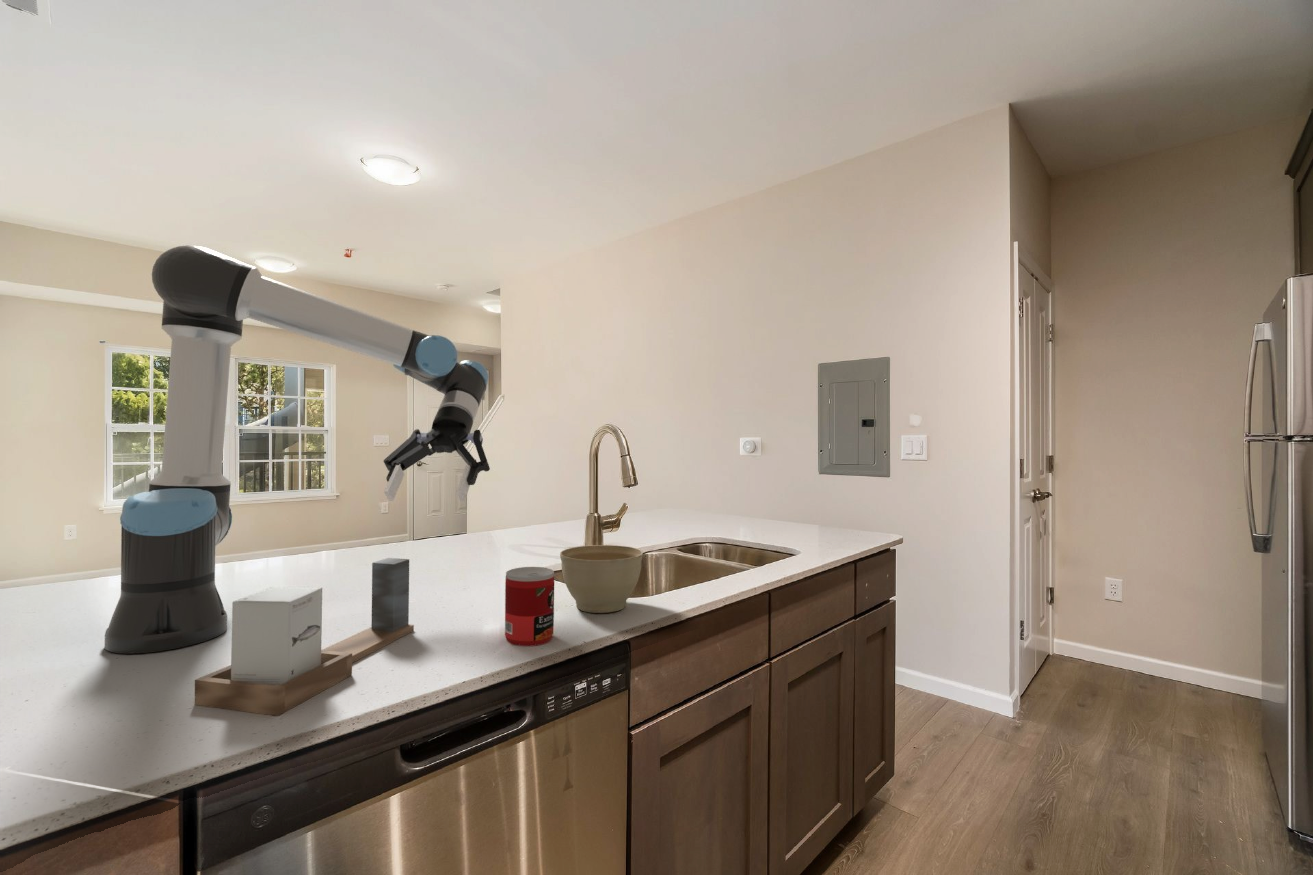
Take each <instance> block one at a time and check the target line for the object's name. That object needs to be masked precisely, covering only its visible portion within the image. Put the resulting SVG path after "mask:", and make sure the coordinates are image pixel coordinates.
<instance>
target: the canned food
mask: <svg viewBox="0 0 1313 875" xmlns="http://www.w3.org/2000/svg"><path fill="white" fill-rule="evenodd" d="M504 584H505V585H504V586H505V588H504V589H505V590H504V592H505V594H504V595H505V596H504V637H505V640H506V641H507V642H509V644H511V645H514V646H519V647H533V646H539V645H544V644H546V643H548V642H550V641H551V640H552V638H553V635H554V630H555V629H554V628H555V626H554V624H555V622H554V621H555V571H554V570H553V569H551V568H548V567H542V566H523V567H522V566H521V567H515V568H512V569H509V570H507V571H506V572H505V583H504Z"/></svg>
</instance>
